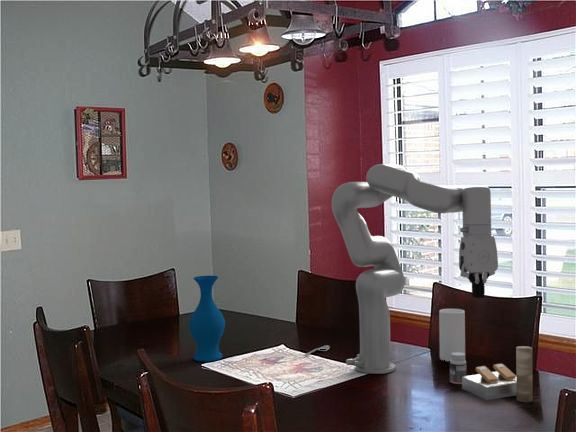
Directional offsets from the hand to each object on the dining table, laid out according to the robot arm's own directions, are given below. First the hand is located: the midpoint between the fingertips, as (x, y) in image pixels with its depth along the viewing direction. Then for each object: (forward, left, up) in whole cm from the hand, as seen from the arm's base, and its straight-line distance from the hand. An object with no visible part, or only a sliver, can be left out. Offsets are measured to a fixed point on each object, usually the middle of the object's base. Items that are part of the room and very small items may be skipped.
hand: (478, 297), depth 183 cm
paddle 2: (+8, -1, -22) cm, 23 cm away
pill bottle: (+1, +11, -27) cm, 29 cm away
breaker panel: (+5, -1, -27) cm, 27 cm away
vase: (-59, +69, -27) cm, 95 cm away
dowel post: (+7, -10, -27) cm, 29 cm away
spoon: (-25, +59, -27) cm, 70 cm away
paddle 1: (+2, -1, -22) cm, 22 cm away
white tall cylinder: (+15, +33, -27) cm, 45 cm away
